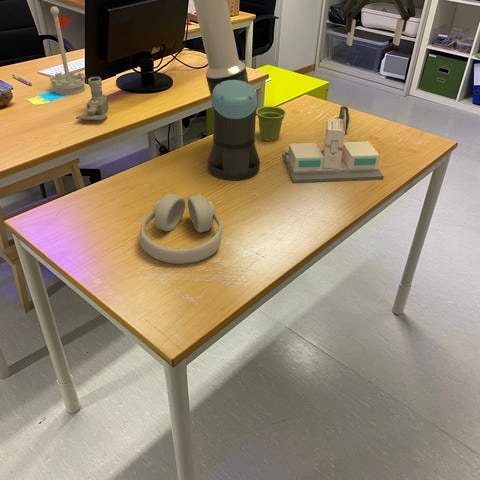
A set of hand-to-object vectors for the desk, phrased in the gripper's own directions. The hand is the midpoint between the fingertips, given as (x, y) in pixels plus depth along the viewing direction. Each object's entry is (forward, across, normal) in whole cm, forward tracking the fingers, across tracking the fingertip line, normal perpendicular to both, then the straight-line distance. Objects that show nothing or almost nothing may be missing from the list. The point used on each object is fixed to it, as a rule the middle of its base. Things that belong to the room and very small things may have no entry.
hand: (372, 44), depth 131 cm
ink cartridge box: (+29, -12, -14) cm, 34 cm away
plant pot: (+31, -26, +8) cm, 41 cm away
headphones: (+31, -55, -45) cm, 78 cm away
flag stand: (+31, -97, +56) cm, 116 cm away
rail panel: (+31, -12, -14) cm, 36 cm away
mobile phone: (+31, +1, +15) cm, 35 cm away
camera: (+31, -84, +29) cm, 94 cm away
